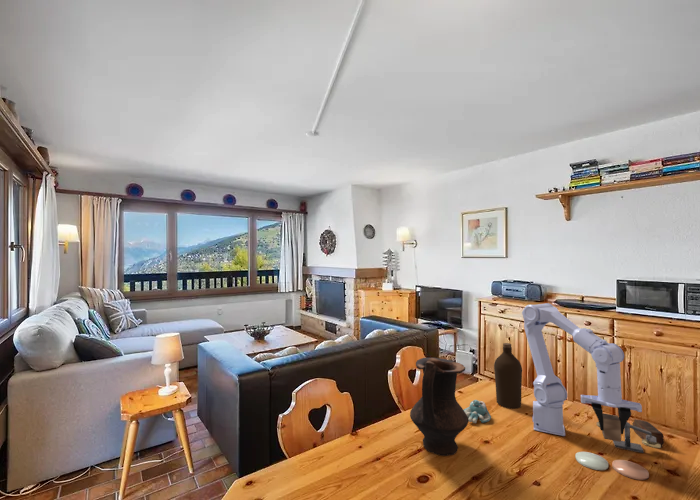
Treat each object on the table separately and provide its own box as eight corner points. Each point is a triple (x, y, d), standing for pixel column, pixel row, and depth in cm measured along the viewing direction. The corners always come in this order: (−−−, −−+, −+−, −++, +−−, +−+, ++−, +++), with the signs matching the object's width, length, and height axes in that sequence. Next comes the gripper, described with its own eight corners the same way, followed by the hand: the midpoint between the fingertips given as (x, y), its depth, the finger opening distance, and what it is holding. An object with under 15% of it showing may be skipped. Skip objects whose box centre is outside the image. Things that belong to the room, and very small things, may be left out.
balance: (598, 444, 111) (597, 416, 111) (596, 437, 115) (595, 411, 115) (663, 457, 103) (661, 428, 103) (658, 450, 107) (657, 421, 107)
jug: (420, 427, 124) (419, 344, 125) (474, 440, 114) (471, 350, 115) (399, 456, 105) (397, 359, 106) (460, 475, 96) (457, 367, 97)
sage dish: (576, 465, 100) (576, 462, 100) (574, 451, 107) (574, 449, 107) (610, 473, 96) (610, 470, 96) (606, 458, 103) (606, 456, 103)
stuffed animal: (456, 407, 128) (466, 391, 137) (457, 424, 129) (467, 407, 138) (486, 414, 121) (494, 397, 131) (487, 433, 122) (495, 414, 132)
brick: (664, 448, 108) (664, 433, 108) (649, 446, 109) (649, 432, 109) (646, 432, 118) (645, 418, 118) (632, 430, 119) (631, 417, 120)
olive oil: (509, 411, 135) (507, 348, 136) (489, 401, 145) (487, 342, 146) (529, 407, 139) (527, 345, 140) (508, 397, 149) (506, 339, 150)
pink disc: (615, 474, 95) (615, 471, 95) (610, 459, 102) (610, 457, 102) (652, 483, 91) (652, 480, 91) (644, 467, 98) (644, 464, 98)
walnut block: (604, 438, 101) (603, 418, 102) (602, 432, 105) (601, 413, 105) (621, 442, 100) (620, 421, 100) (618, 435, 103) (617, 415, 103)
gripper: (581, 385, 103) (583, 431, 102) (643, 393, 96) (646, 443, 95) (579, 378, 109) (581, 421, 109) (637, 385, 102) (639, 431, 101)
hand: (611, 430), depth 102 cm, fingers closed on walnut block, 4 cm apart
